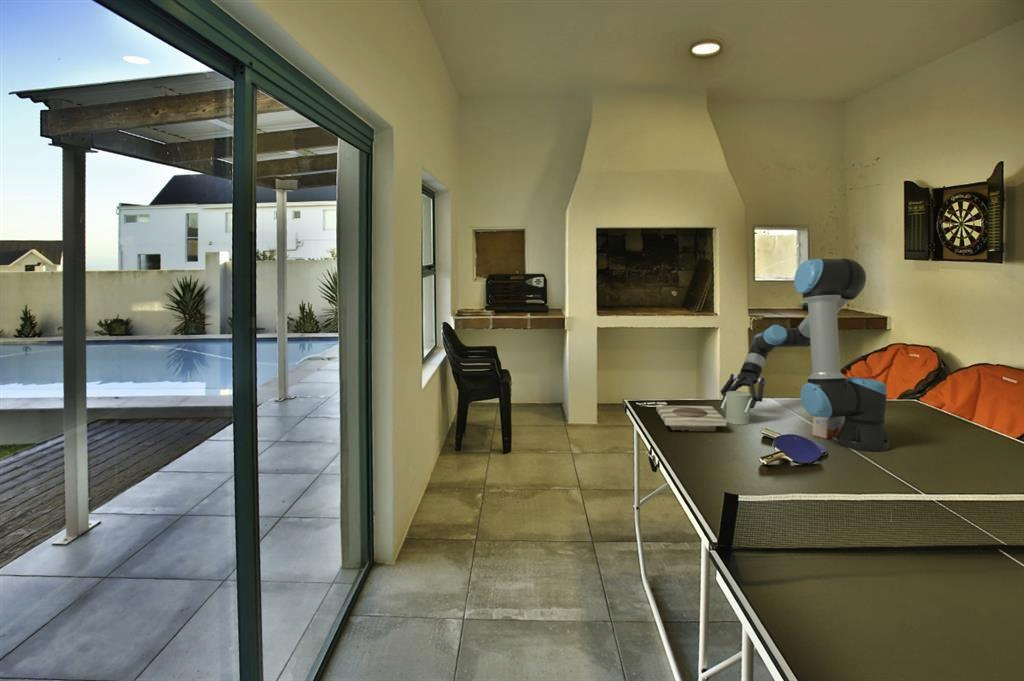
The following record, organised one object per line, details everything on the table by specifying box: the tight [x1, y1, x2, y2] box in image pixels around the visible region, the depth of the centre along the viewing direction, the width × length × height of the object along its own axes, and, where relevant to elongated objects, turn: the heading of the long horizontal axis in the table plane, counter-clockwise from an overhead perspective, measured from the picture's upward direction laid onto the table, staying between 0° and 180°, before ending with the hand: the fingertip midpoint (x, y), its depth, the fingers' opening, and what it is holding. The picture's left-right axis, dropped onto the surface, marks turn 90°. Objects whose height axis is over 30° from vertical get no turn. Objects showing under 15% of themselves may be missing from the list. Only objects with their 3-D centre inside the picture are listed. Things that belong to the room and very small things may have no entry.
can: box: [724, 390, 752, 426], centre depth 229 cm, size 9×9×12 cm
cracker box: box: [811, 377, 848, 440], centre depth 210 cm, size 14×6×21 cm, turn 126°
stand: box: [656, 405, 728, 432], centre depth 225 cm, size 22×22×5 cm
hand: (734, 411), depth 226 cm, fingers closed on can, 9 cm apart
